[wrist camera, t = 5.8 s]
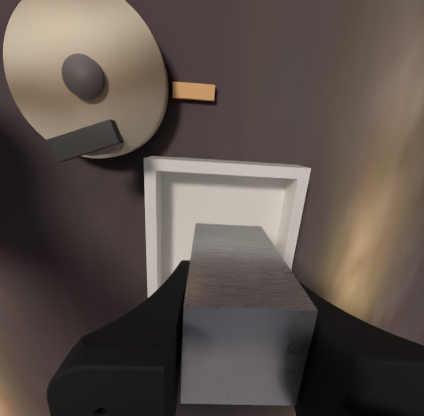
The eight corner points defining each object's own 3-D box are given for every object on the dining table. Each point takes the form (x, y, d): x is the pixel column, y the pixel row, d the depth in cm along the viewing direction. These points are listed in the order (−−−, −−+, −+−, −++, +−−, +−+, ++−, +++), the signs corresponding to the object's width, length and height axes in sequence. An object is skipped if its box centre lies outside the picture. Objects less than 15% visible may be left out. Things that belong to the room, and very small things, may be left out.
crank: (-7, 25, 14) (-125, -38, 9) (136, -28, 13) (95, -127, 8) (66, 172, 17) (7, 185, 12) (187, 135, 16) (178, 132, 11)
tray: (154, 281, 20) (147, 299, 18) (152, 155, 17) (143, 158, 15) (275, 286, 21) (284, 304, 18) (296, 164, 17) (310, 168, 15)
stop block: (193, 280, 14) (180, 403, 7) (195, 222, 13) (183, 306, 6) (253, 283, 14) (295, 405, 8) (261, 226, 13) (318, 310, 6)
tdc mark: (173, 98, 16) (172, 97, 15) (173, 83, 16) (172, 81, 15) (214, 101, 16) (214, 100, 16) (215, 86, 16) (215, 84, 15)
